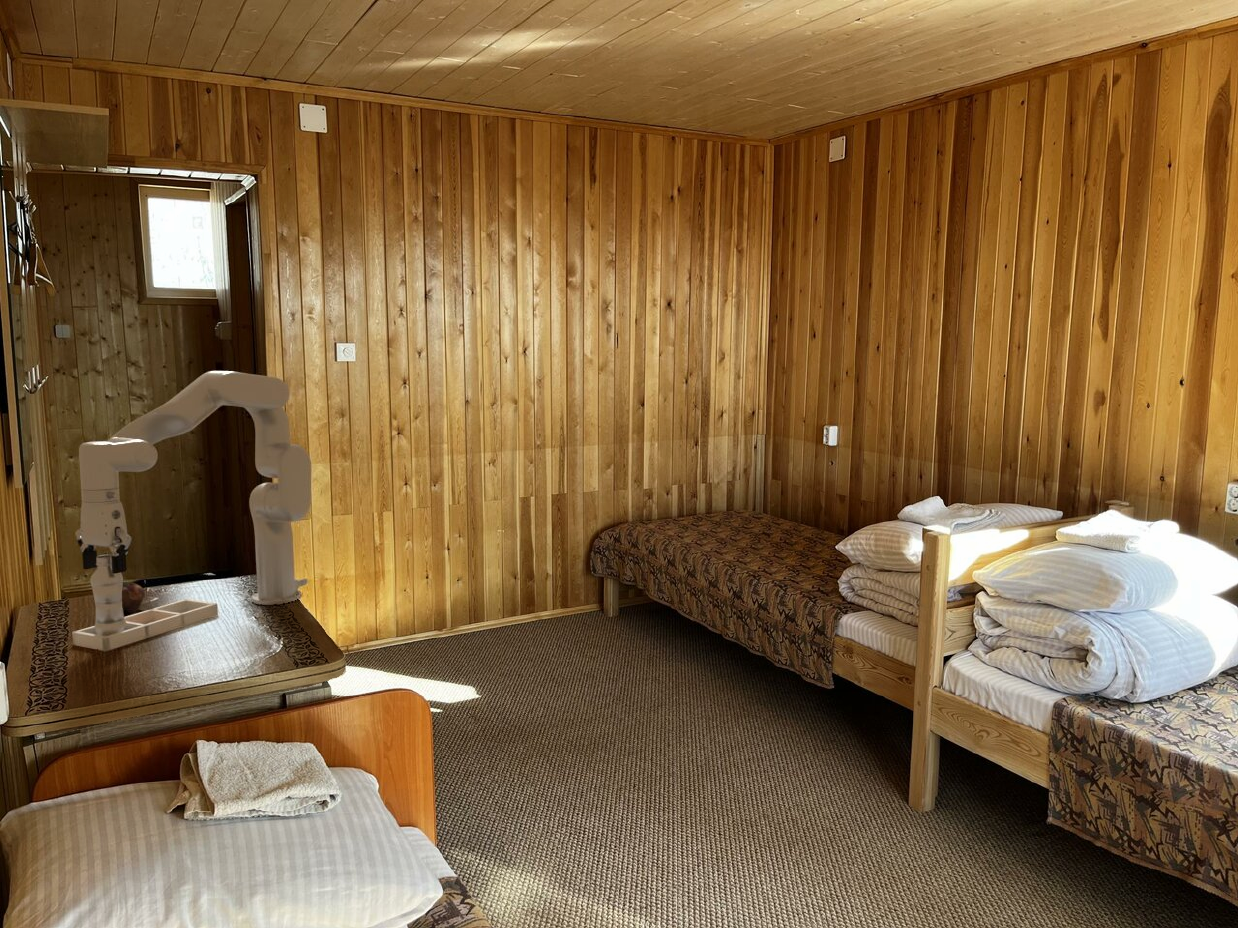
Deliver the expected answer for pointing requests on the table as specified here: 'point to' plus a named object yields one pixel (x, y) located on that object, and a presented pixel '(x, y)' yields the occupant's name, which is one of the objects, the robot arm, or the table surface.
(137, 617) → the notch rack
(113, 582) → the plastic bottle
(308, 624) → the table surface
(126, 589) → the decorative turtle
